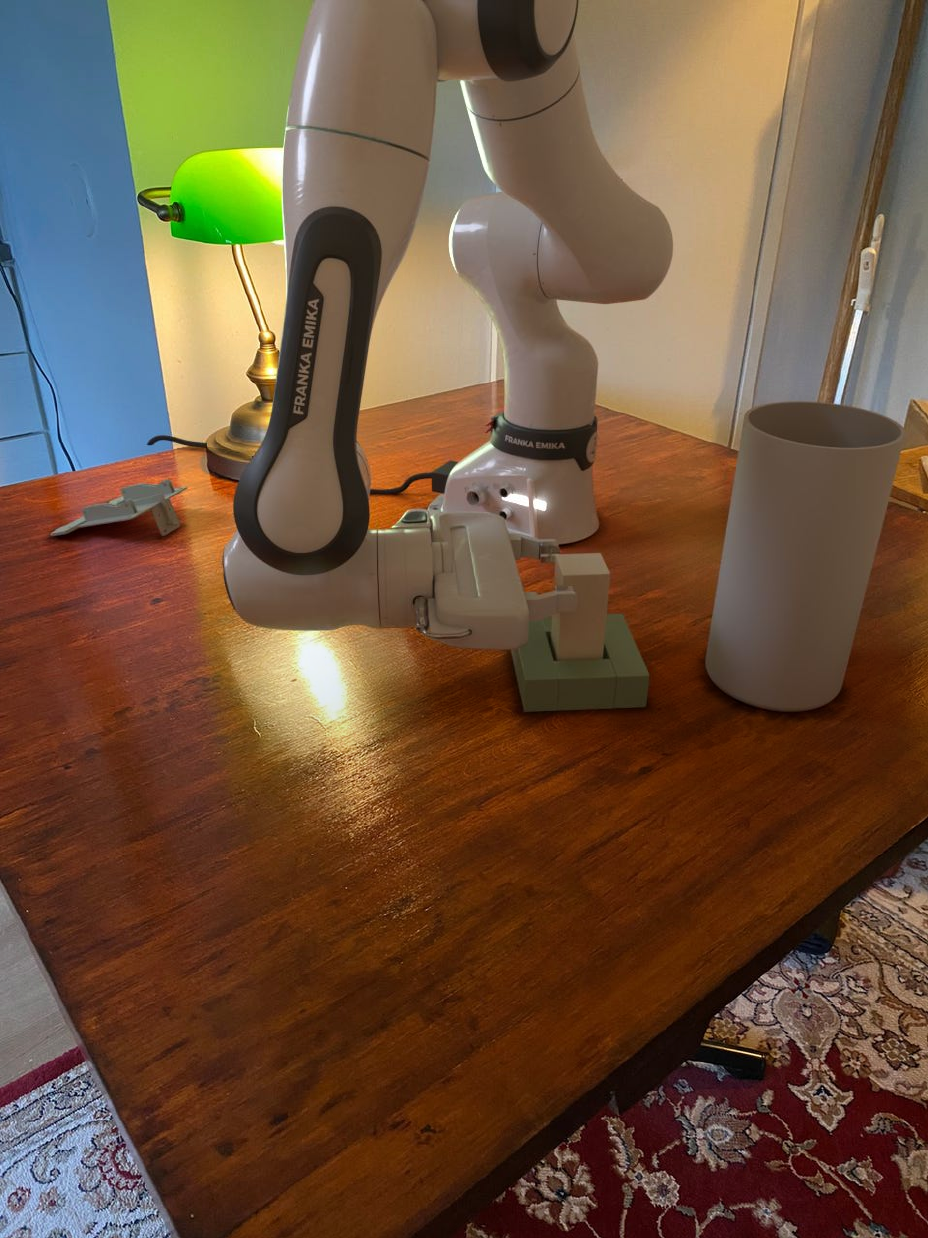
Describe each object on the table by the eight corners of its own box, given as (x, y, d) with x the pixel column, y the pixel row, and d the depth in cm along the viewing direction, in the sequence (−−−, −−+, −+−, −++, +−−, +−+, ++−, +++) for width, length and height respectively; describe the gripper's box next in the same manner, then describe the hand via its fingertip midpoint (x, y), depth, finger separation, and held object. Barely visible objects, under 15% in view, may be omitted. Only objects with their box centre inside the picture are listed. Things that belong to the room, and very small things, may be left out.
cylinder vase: (822, 732, 79) (889, 460, 67) (685, 689, 85) (723, 431, 73) (853, 666, 89) (917, 416, 76) (727, 631, 94) (768, 393, 82)
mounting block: (523, 712, 82) (525, 680, 80) (510, 647, 92) (511, 616, 90) (646, 707, 83) (650, 675, 81) (619, 643, 92) (622, 613, 91)
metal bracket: (197, 467, 119) (119, 509, 107) (213, 508, 121) (139, 554, 109) (118, 481, 125) (37, 522, 113) (135, 520, 128) (57, 564, 116)
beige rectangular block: (556, 688, 85) (563, 575, 79) (549, 664, 89) (555, 554, 83) (600, 686, 86) (610, 573, 80) (591, 662, 89) (600, 552, 83)
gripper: (414, 603, 70) (591, 598, 71) (409, 501, 88) (551, 497, 89) (416, 672, 73) (585, 665, 74) (411, 559, 91) (548, 555, 92)
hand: (566, 573), depth 81 cm, fingers open, 8 cm apart
